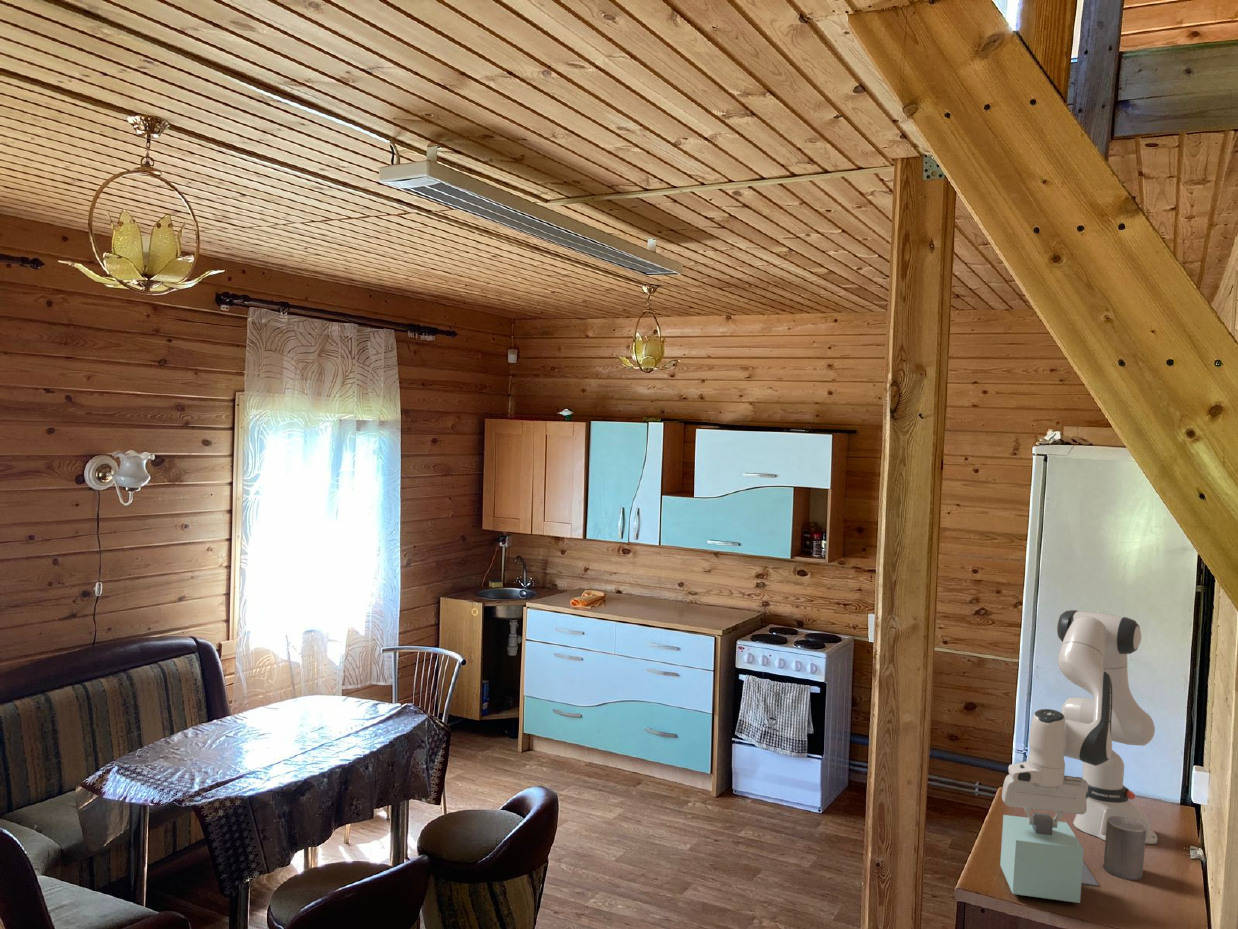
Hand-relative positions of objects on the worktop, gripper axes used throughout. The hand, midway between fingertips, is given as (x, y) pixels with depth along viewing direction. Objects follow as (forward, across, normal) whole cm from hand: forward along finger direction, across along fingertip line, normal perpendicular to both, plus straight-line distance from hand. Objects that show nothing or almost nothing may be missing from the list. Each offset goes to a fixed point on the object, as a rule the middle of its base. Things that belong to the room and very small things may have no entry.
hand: (1042, 825), depth 243 cm
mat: (+17, -7, -16) cm, 24 cm away
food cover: (+15, 0, 0) cm, 15 cm away
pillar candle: (+17, -26, -18) cm, 36 cm away
